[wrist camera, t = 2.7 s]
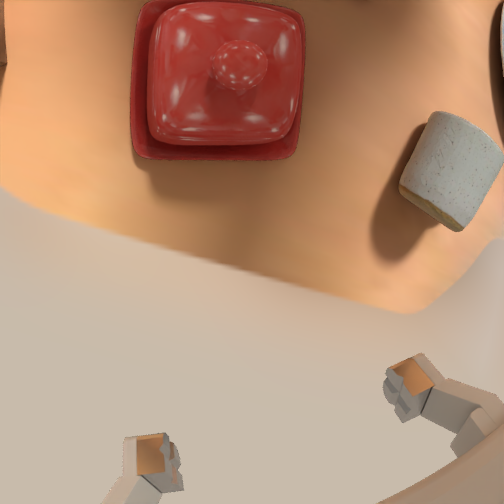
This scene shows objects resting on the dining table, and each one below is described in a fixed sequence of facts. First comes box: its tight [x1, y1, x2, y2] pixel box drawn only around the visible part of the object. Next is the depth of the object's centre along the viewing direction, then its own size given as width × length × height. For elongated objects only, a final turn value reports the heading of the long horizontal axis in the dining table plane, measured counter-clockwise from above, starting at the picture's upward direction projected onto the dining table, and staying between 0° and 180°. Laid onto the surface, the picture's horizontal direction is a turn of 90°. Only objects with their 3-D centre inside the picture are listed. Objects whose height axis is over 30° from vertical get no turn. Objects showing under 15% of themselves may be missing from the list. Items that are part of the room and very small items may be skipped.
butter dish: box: [130, 0, 306, 161], centre depth 16 cm, size 12×12×8 cm
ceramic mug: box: [398, 111, 504, 232], centre depth 23 cm, size 11×8×8 cm
